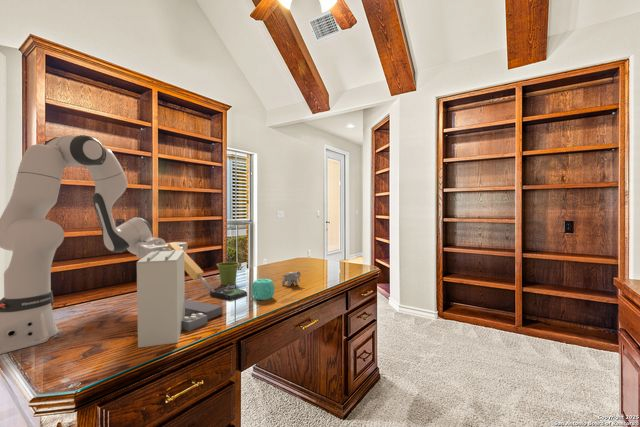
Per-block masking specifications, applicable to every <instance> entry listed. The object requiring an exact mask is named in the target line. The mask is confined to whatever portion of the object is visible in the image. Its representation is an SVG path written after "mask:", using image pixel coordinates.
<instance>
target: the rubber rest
mask: <svg viewBox="0 0 640 427" xmlns="http://www.w3.org/2000/svg"><path fill="white" fill-rule="evenodd" d="M196 313H203V314H204V315H207V321H208V320H212V319H213V318H216V317H218V316H220V315H223V306H222V305H217V304H214V303H213V304H211V303H207V302H201V301H198V300H197V301H196V300H191V299H185V317H186V316H187V317H189V316H191V314H196Z"/></svg>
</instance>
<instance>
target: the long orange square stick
mask: <svg viewBox="0 0 640 427" xmlns="http://www.w3.org/2000/svg"><path fill="white" fill-rule="evenodd" d="M173 242H174V243H171V242H168V243H169V244H168V246H167V249H170V248H171V249H173V250H175V251H184V250H183V249H182V248H181V247H180V246H179V245H178V244H177V243H176V242H177V241H173ZM184 272H186V273H187V274H188V275H189V277H190V278H191V279H192V280H194V281H195V280H200V282H201V283H202V284H203V285H204V286H205V287H206V288H207V289H208V291H212V292H214V290H215V289H213V287H212V286H211V284H210V283H208V282H207V280H206V279H205V278H204V277H203V274H204V271H203V269H202V268H201V267H200V266H199V265H198V264H197V263H196V262H195V261H194V260H193V259H192V258H191V257H190V256H189V255H188V254H187V253H186V251H184Z"/></svg>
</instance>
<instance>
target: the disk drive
mask: <svg viewBox="0 0 640 427" xmlns="http://www.w3.org/2000/svg"><path fill="white" fill-rule="evenodd" d="M213 290H214V292H212V291H211V290H209V292H210V294H209V296H211V297H215V298H220V299H223V300H227V301H233V300H237V299H240V298H243V297H246V296H247V295H248V292H247V291H246V290H244V289H239V288H236V287H235V288H234V287H230V286H225V287H220V288H217V289H213Z"/></svg>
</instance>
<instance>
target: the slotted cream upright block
mask: <svg viewBox="0 0 640 427" xmlns="http://www.w3.org/2000/svg"><path fill="white" fill-rule="evenodd" d="M184 252H185V251H175V250H172V251H160V252H159V251H156V252H151V253H149V254H148V255H146V256H145V257H143V258H139V260H138V261H136V296H137V297H136V298H137V304H136V305H137V307H136V308H137V312H136V313H137V348H138V349H139V348H145V347H155V346H161V345H170V344H178V343H179V340H180V337H181V334H182V330H183V329H182V319H183V318H184V317H186V316H185V300H186V296H185V295H186V294H185V293H186V292H185V286H186V285H185V270H184Z"/></svg>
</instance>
